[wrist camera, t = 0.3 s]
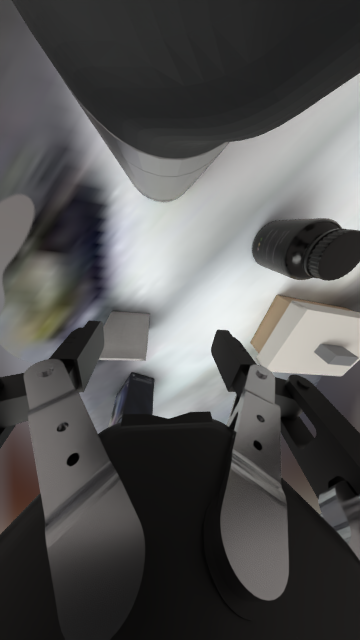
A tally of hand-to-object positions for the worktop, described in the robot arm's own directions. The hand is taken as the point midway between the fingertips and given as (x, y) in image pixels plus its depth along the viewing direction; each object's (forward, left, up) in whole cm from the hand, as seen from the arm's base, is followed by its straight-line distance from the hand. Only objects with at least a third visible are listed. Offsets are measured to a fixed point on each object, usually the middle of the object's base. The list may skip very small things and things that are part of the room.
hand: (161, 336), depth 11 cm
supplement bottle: (-8, +17, -18) cm, 26 cm away
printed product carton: (+10, -4, -18) cm, 21 cm away
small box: (+30, -2, -18) cm, 35 cm away
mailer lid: (+6, +32, -13) cm, 35 cm away
